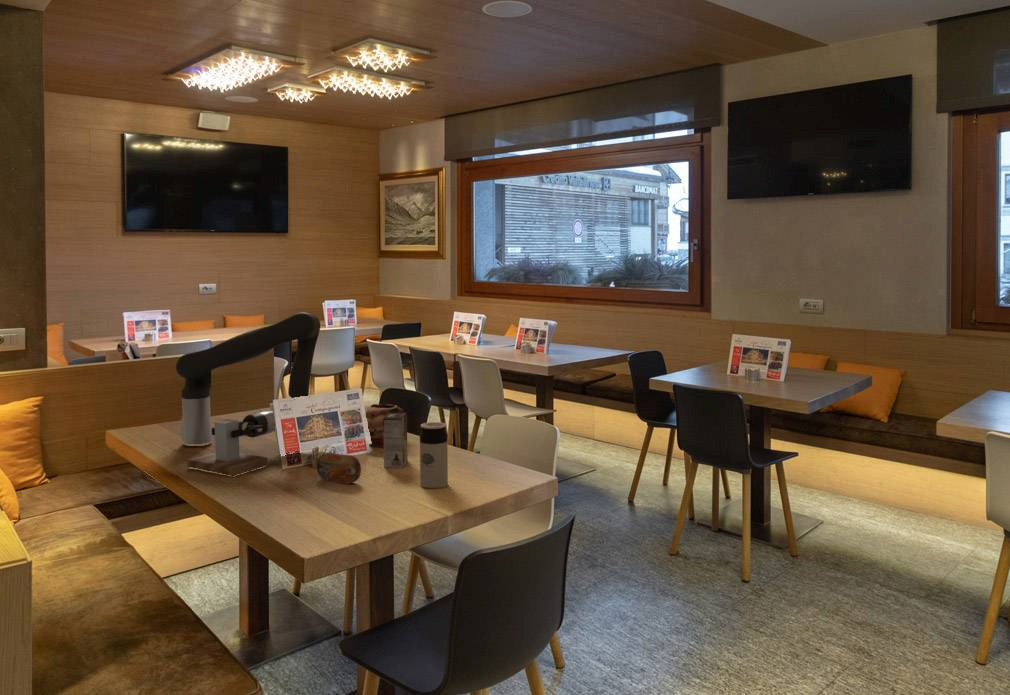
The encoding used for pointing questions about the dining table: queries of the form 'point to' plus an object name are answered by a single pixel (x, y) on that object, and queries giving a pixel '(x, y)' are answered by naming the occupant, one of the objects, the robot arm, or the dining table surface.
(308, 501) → the dining table surface
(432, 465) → the travel mug
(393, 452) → the coffee box
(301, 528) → the dining table surface
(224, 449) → the slate block
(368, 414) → the decorative planter
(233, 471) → the walnut plinth
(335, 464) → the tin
